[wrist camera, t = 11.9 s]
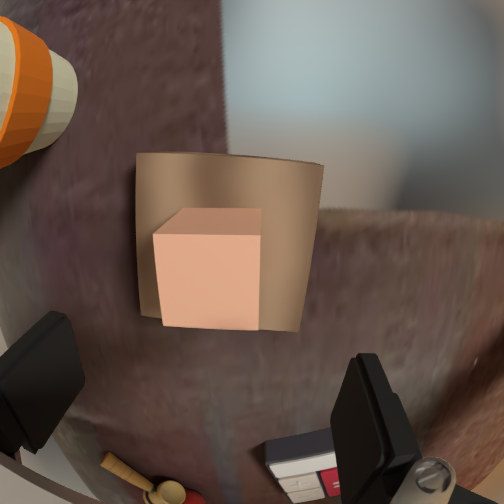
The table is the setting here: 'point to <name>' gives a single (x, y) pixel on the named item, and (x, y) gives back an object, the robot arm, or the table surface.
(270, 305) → the base
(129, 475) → the kendama
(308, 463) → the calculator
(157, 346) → the table surface
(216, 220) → the block
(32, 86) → the reusable coffee cup
